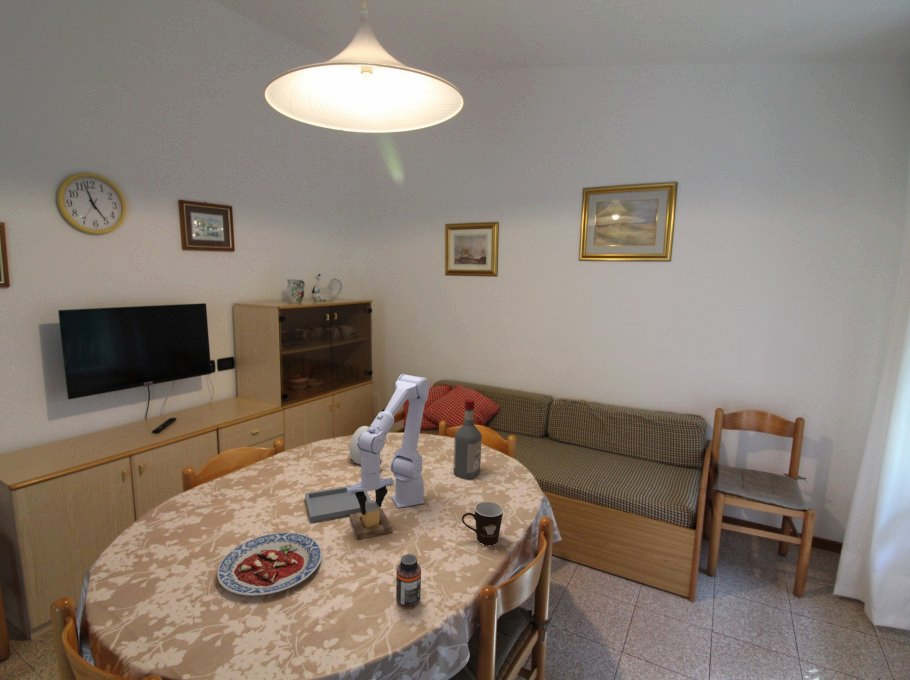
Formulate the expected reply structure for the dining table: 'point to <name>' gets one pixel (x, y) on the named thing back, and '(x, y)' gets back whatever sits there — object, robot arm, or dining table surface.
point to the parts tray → (332, 504)
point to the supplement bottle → (408, 582)
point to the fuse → (371, 514)
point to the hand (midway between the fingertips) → (370, 511)
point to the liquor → (467, 446)
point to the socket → (372, 531)
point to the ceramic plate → (269, 564)
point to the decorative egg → (353, 445)
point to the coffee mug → (487, 522)
